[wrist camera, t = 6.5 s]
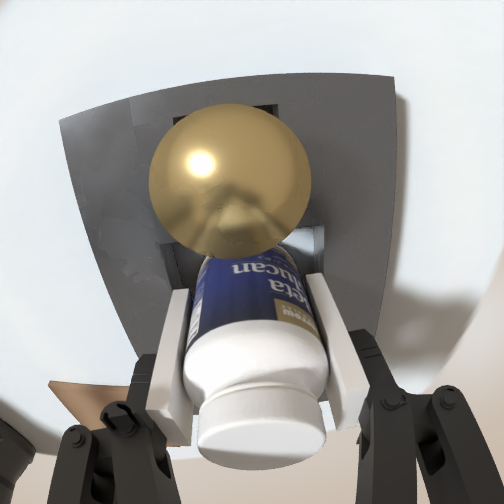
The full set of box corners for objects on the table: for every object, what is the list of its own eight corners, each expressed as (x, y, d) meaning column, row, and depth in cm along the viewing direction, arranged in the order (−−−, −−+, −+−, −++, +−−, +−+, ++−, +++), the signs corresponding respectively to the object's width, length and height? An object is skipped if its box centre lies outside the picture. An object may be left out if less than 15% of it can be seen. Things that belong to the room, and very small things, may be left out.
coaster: (97, 435, 25) (96, 439, 25) (49, 380, 21) (47, 385, 20) (180, 442, 25) (180, 446, 25) (145, 387, 21) (144, 392, 20)
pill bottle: (310, 243, 15) (383, 404, 7) (282, 322, 18) (312, 474, 9) (205, 224, 15) (176, 398, 6) (192, 309, 17) (172, 470, 8)
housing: (173, 394, 21) (170, 414, 19) (79, 116, 12) (58, 120, 10) (353, 373, 21) (360, 393, 19) (373, 78, 12) (394, 76, 10)
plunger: (185, 219, 12) (167, 266, 9) (166, 113, 10) (135, 120, 7) (291, 206, 12) (313, 249, 9) (282, 98, 10) (305, 96, 7)
